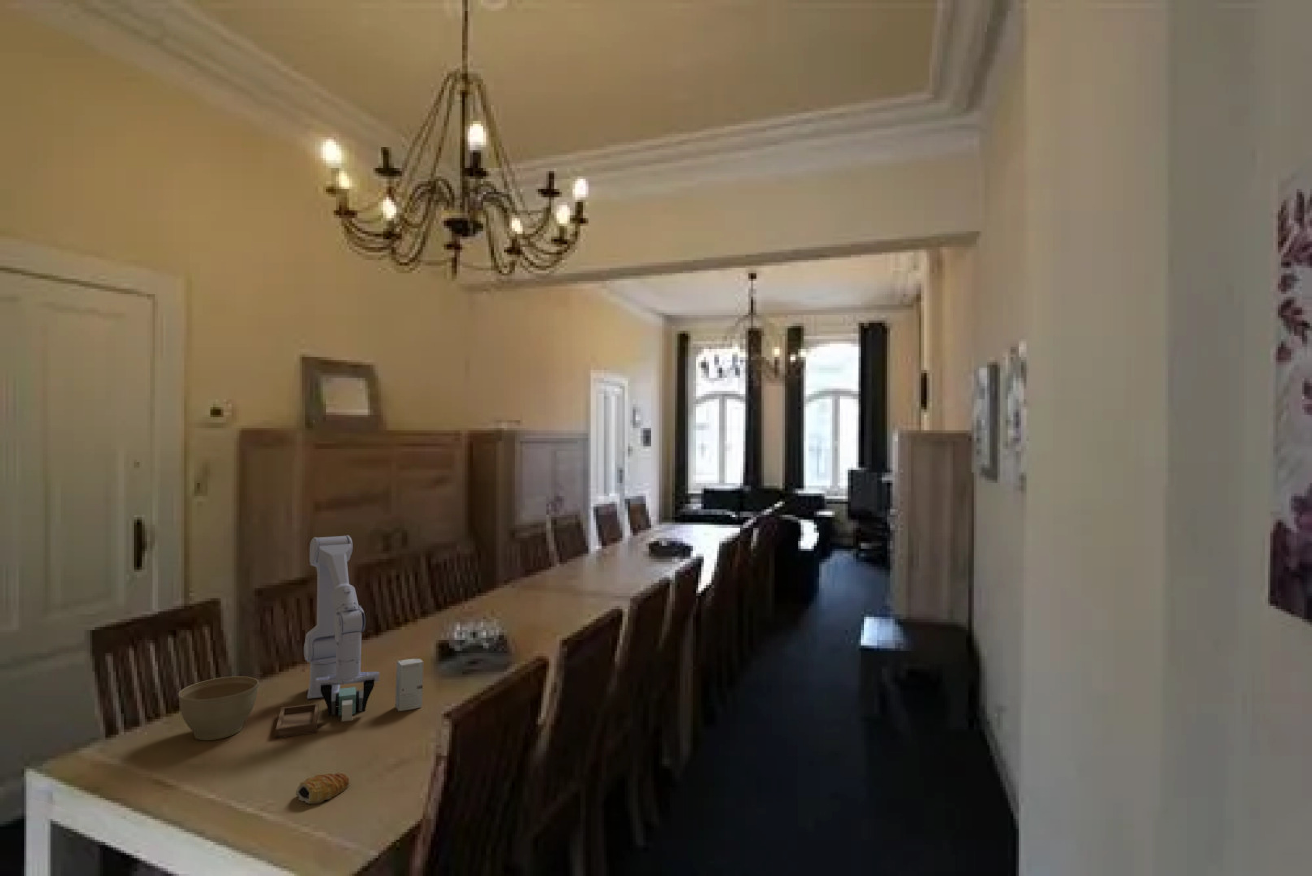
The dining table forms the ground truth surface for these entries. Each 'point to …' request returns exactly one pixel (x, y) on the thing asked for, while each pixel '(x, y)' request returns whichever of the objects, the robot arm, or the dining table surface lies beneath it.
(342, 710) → the stacked two-tone block
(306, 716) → the tray
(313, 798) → the pastry
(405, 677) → the skincare box
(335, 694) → the bay
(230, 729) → the planter bowl
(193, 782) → the dining table surface
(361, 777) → the dining table surface
